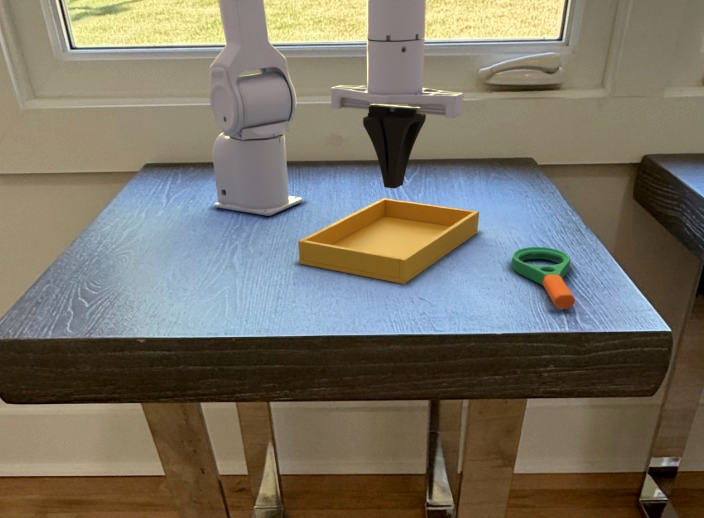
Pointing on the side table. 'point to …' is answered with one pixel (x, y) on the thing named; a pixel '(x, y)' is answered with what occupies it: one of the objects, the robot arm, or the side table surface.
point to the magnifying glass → (546, 272)
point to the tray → (389, 239)
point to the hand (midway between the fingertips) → (393, 186)
